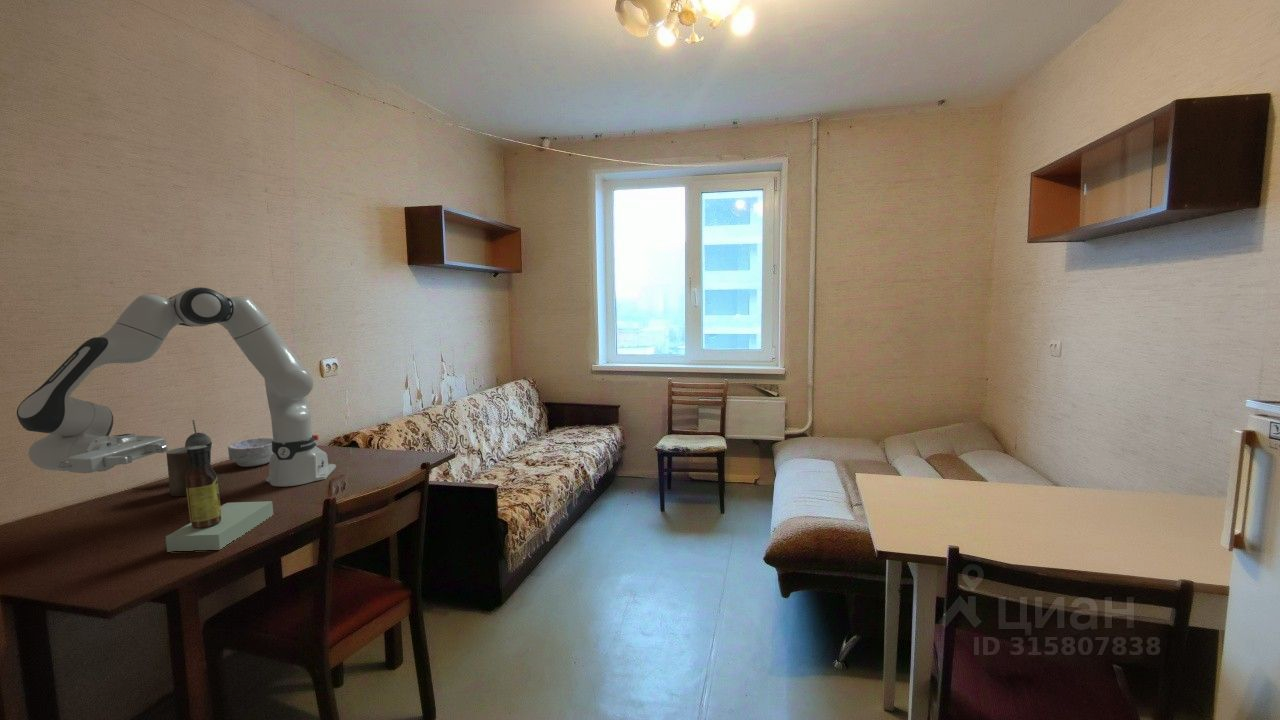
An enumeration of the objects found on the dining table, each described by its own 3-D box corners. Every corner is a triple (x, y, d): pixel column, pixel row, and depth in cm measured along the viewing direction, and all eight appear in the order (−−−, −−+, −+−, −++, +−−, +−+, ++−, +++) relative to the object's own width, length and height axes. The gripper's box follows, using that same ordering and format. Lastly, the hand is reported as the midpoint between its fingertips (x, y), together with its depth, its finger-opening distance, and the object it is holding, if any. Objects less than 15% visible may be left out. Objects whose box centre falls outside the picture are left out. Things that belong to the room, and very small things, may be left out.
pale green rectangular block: (228, 516, 153) (227, 502, 152) (273, 514, 154) (272, 501, 153) (167, 552, 131) (165, 536, 131) (220, 550, 132) (218, 534, 131)
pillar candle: (208, 492, 172) (204, 445, 171) (167, 499, 167) (163, 450, 165) (210, 484, 180) (206, 440, 179) (172, 490, 175) (167, 444, 173)
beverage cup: (200, 481, 183) (194, 423, 181) (182, 480, 184) (176, 422, 182) (220, 474, 190) (215, 418, 188) (203, 473, 191) (198, 417, 189)
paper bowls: (255, 470, 195) (254, 448, 194) (218, 468, 197) (216, 447, 196) (289, 458, 210) (287, 437, 209) (254, 456, 212) (253, 436, 211)
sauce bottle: (227, 521, 139) (220, 445, 137) (199, 531, 133) (191, 451, 131) (212, 517, 142) (205, 442, 140) (184, 526, 136) (176, 448, 134)
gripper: (49, 453, 129) (102, 454, 128) (136, 431, 149) (182, 432, 148) (53, 479, 130) (106, 480, 128) (139, 454, 150) (185, 454, 149)
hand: (148, 454), depth 138 cm, fingers open, 8 cm apart
